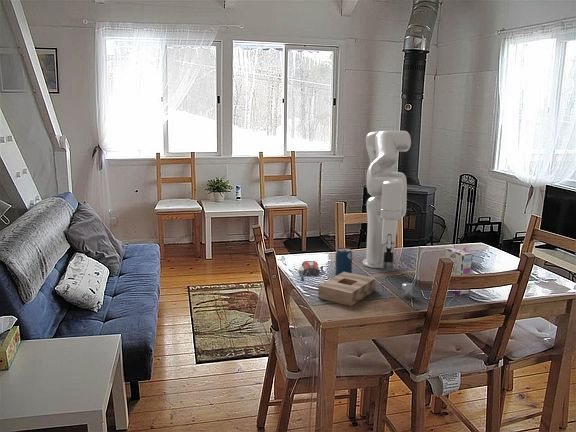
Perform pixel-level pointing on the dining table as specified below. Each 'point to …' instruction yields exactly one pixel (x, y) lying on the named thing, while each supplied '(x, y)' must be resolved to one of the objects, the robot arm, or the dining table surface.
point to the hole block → (346, 288)
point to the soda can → (343, 261)
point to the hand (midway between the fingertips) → (388, 259)
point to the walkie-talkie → (309, 268)
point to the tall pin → (386, 264)
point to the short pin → (407, 290)
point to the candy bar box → (460, 263)
